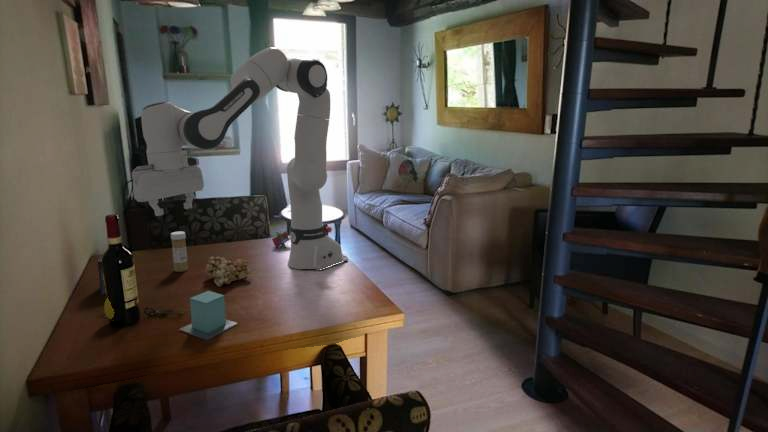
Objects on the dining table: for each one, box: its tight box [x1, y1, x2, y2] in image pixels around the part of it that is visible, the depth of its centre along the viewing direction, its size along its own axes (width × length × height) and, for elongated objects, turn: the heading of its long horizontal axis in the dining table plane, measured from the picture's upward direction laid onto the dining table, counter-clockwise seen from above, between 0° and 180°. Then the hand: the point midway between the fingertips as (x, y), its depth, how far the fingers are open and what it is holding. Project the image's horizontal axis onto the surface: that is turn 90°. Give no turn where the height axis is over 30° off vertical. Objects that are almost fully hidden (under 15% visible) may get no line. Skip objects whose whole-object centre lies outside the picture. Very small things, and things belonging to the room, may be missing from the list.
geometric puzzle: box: [272, 231, 291, 249], centre depth 190 cm, size 7×7×8 cm
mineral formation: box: [204, 256, 253, 288], centre depth 153 cm, size 8×13×15 cm
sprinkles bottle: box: [170, 230, 189, 273], centre depth 160 cm, size 5×5×14 cm
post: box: [179, 319, 239, 341], centre depth 119 cm, size 10×10×6 cm
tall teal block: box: [189, 290, 227, 333], centre depth 119 cm, size 6×6×8 cm
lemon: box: [103, 297, 115, 320], centre depth 121 cm, size 6×6×8 cm
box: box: [97, 253, 106, 295], centre depth 142 cm, size 8×6×11 cm
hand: (174, 211), depth 131 cm, fingers open, 8 cm apart
